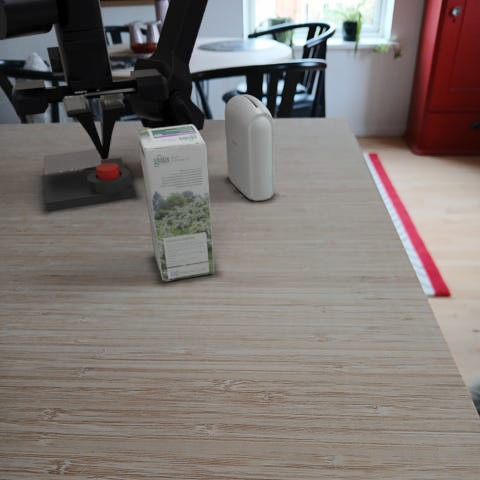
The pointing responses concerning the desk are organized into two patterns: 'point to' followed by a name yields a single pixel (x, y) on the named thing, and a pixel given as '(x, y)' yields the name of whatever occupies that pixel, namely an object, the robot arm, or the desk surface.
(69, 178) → the dark grey flat piece
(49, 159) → the weighing pan
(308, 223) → the desk surface
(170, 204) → the syrup box
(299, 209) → the desk surface
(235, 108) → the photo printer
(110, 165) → the button
